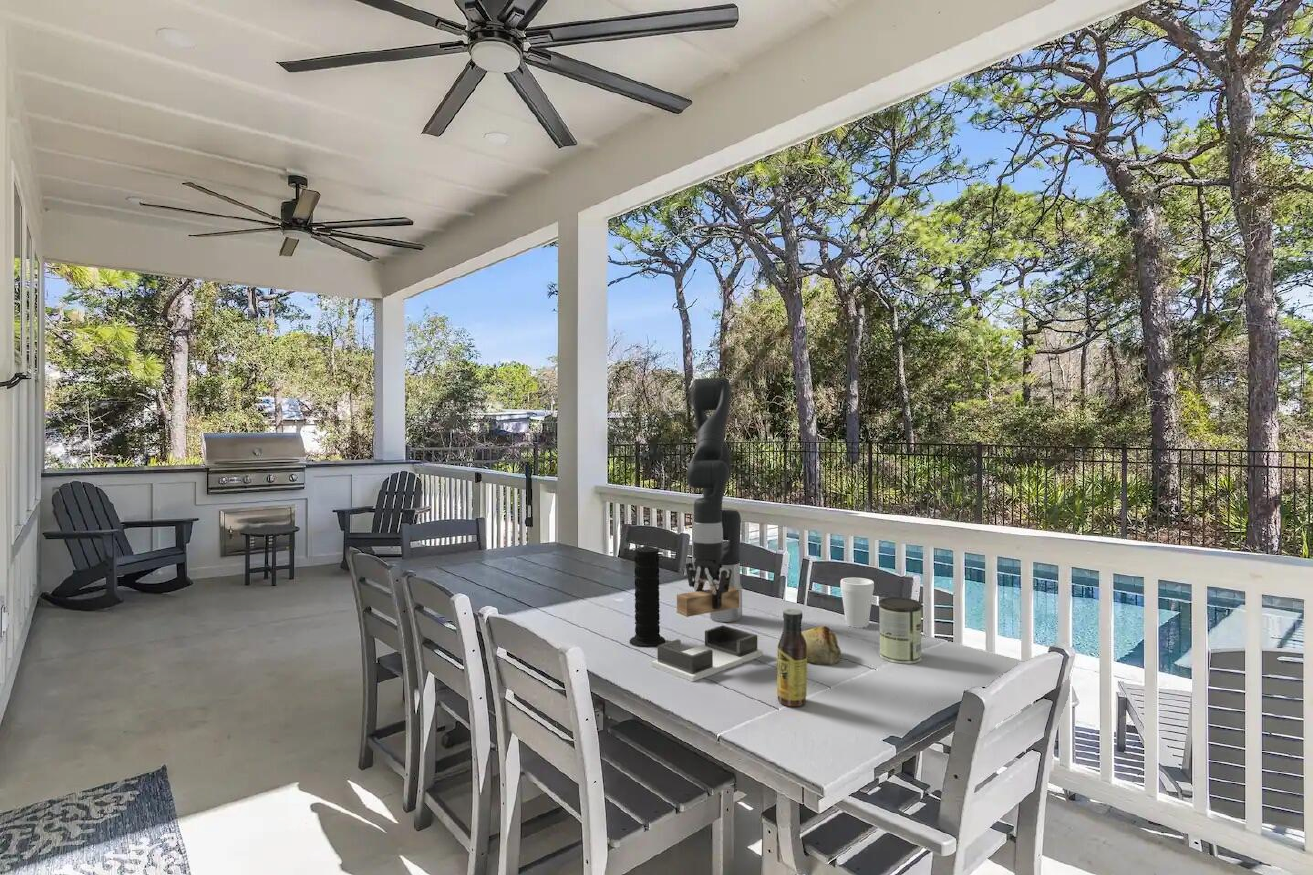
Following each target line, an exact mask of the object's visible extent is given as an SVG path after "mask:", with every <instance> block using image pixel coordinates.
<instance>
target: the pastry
mask: <svg viewBox="0 0 1313 875" xmlns="http://www.w3.org/2000/svg"><path fill="white" fill-rule="evenodd" d="M801 633H802V635H803V637H804V639H805V641H806V644H807V654H806V655H807V663H810V664H813V663H816V664H818V663H819V664H820V665H826V664H829V665H831V666H832V664H833V665H837V664H838V663H839V662H840V655H841V652H842V650H841V648H840V646H839V643H838V640H837V639H838V638H837V637H836V634H835V632H833V631H832V630H830V627H829V626H826V625H824V626H817V627H813V628H810V629H806V630H804V631H803V630H802V632H801ZM836 663H837V664H836ZM819 664H818V665H819ZM829 665H828V666H829Z"/></svg>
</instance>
